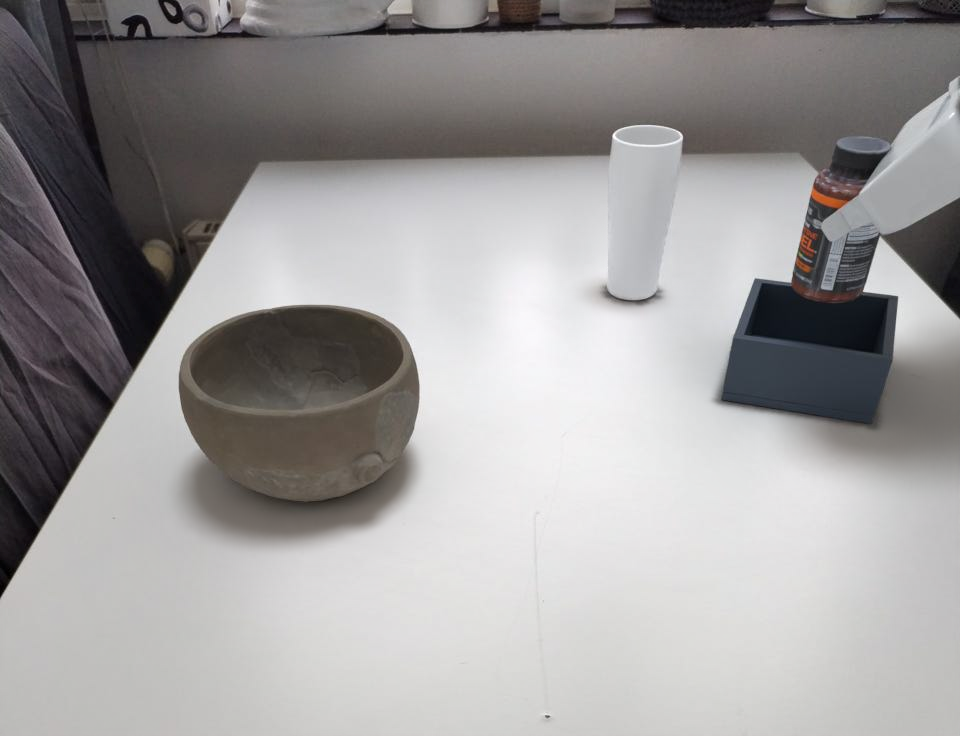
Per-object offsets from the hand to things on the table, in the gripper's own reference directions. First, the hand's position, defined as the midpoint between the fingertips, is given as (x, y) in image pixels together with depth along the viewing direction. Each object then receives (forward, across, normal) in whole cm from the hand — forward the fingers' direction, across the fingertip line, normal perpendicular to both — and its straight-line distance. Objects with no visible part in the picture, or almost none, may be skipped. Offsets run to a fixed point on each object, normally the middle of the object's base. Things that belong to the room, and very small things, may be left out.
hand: (836, 216), depth 71 cm
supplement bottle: (+4, 0, +5) cm, 6 cm away
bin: (+10, 0, +10) cm, 14 cm away
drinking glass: (+24, -11, -4) cm, 27 cm away
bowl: (+32, +31, -12) cm, 46 cm away
